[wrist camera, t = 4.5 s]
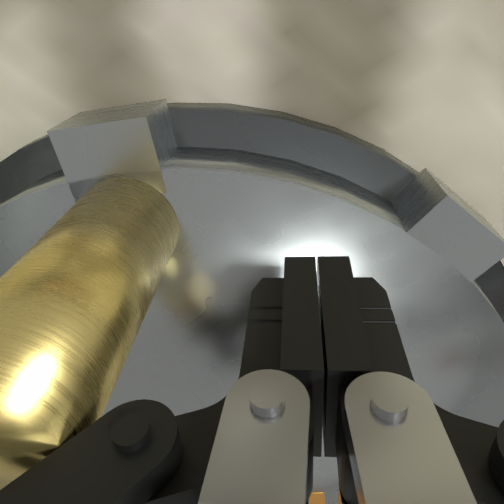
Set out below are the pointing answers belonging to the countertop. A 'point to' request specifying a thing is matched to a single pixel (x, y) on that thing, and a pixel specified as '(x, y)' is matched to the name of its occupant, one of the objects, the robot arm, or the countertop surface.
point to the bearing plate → (267, 143)
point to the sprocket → (213, 278)
